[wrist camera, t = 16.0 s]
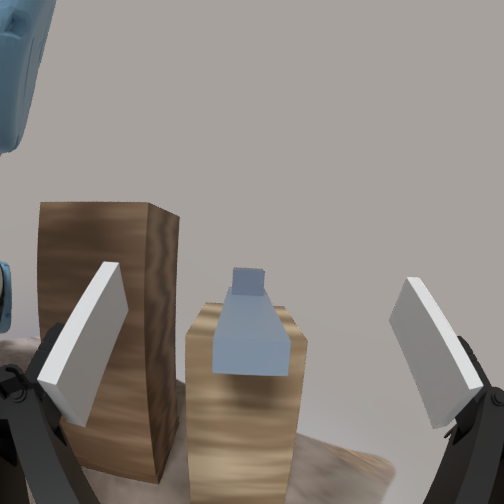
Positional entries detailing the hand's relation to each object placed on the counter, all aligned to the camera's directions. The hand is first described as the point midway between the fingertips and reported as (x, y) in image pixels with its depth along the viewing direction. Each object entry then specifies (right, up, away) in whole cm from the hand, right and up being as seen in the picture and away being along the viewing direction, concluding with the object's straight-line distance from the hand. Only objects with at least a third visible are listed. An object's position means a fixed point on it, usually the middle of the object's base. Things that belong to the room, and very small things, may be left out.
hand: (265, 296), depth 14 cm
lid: (-1, -4, +12) cm, 13 cm away
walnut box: (-17, -23, +19) cm, 35 cm away
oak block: (-2, -24, +16) cm, 29 cm away
